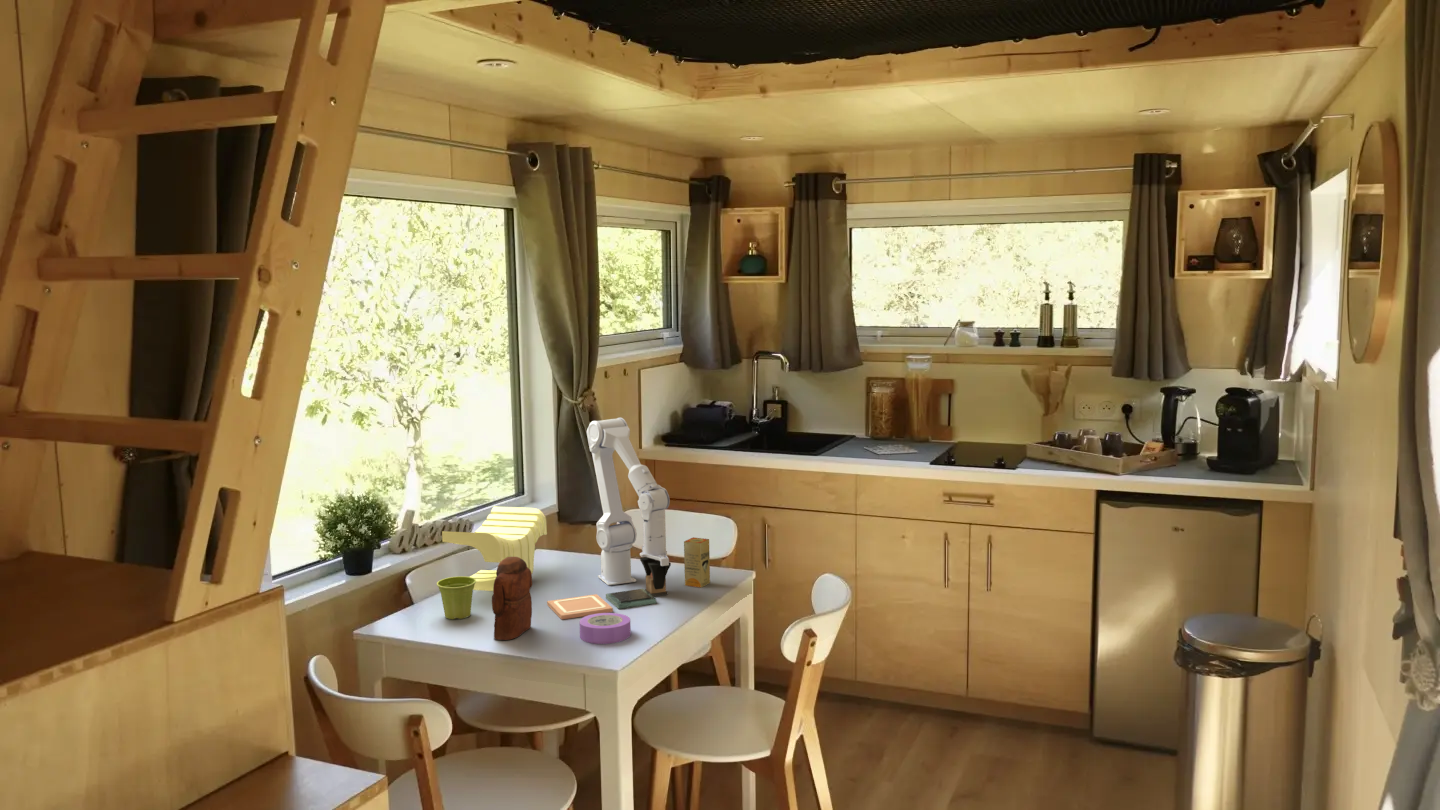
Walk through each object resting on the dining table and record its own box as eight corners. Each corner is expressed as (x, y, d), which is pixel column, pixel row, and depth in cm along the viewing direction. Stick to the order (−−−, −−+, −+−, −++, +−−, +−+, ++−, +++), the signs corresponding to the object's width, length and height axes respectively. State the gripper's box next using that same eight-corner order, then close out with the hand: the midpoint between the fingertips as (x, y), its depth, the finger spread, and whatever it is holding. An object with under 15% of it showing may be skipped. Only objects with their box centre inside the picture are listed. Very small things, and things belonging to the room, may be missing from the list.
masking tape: (606, 624, 255) (605, 609, 254) (641, 634, 247) (640, 618, 247) (569, 637, 246) (568, 621, 246) (604, 648, 239) (604, 631, 238)
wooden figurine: (511, 624, 255) (508, 550, 253) (536, 626, 254) (533, 552, 252) (488, 640, 244) (484, 563, 242) (513, 642, 242) (510, 565, 240)
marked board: (547, 604, 270) (547, 600, 270) (596, 597, 275) (596, 593, 275) (561, 619, 258) (561, 615, 258) (612, 611, 264) (612, 607, 263)
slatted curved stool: (502, 601, 273) (499, 533, 271) (445, 598, 277) (442, 531, 275) (548, 570, 302) (545, 508, 300) (496, 567, 306) (493, 506, 304)
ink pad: (605, 598, 275) (605, 592, 275) (642, 593, 279) (642, 587, 279) (618, 609, 266) (618, 603, 266) (656, 603, 270) (656, 597, 270)
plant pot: (485, 613, 264) (484, 579, 263) (457, 624, 256) (455, 589, 255) (459, 607, 269) (457, 574, 268) (430, 618, 261) (428, 583, 260)
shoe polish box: (710, 582, 287) (709, 539, 286) (701, 587, 283) (700, 543, 282) (693, 580, 290) (693, 537, 288) (684, 585, 285) (683, 541, 284)
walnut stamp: (644, 592, 279) (644, 569, 279) (661, 590, 281) (660, 566, 281) (650, 597, 275) (650, 573, 275) (667, 594, 277) (666, 571, 276)
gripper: (630, 531, 281) (631, 581, 283) (649, 543, 268) (651, 595, 270) (655, 528, 284) (656, 577, 286) (676, 540, 271) (677, 592, 273)
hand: (655, 586), depth 278 cm, fingers closed on walnut stamp, 4 cm apart
